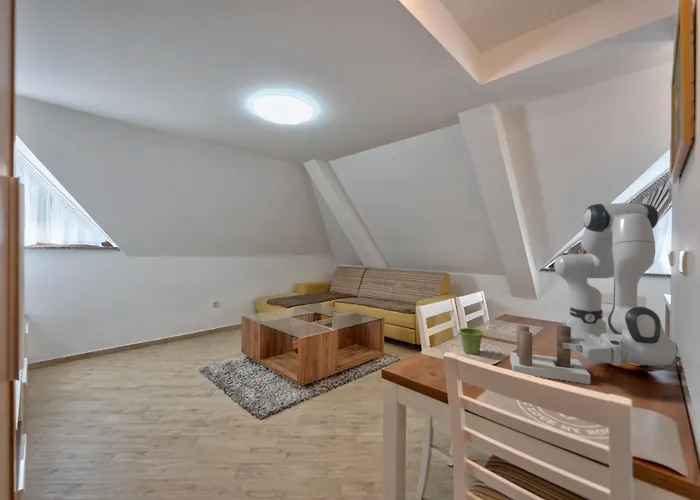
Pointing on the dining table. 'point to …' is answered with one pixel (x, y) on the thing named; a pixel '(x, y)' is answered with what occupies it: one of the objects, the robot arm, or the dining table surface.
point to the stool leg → (562, 353)
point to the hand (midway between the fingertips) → (560, 342)
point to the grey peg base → (543, 362)
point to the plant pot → (471, 340)
